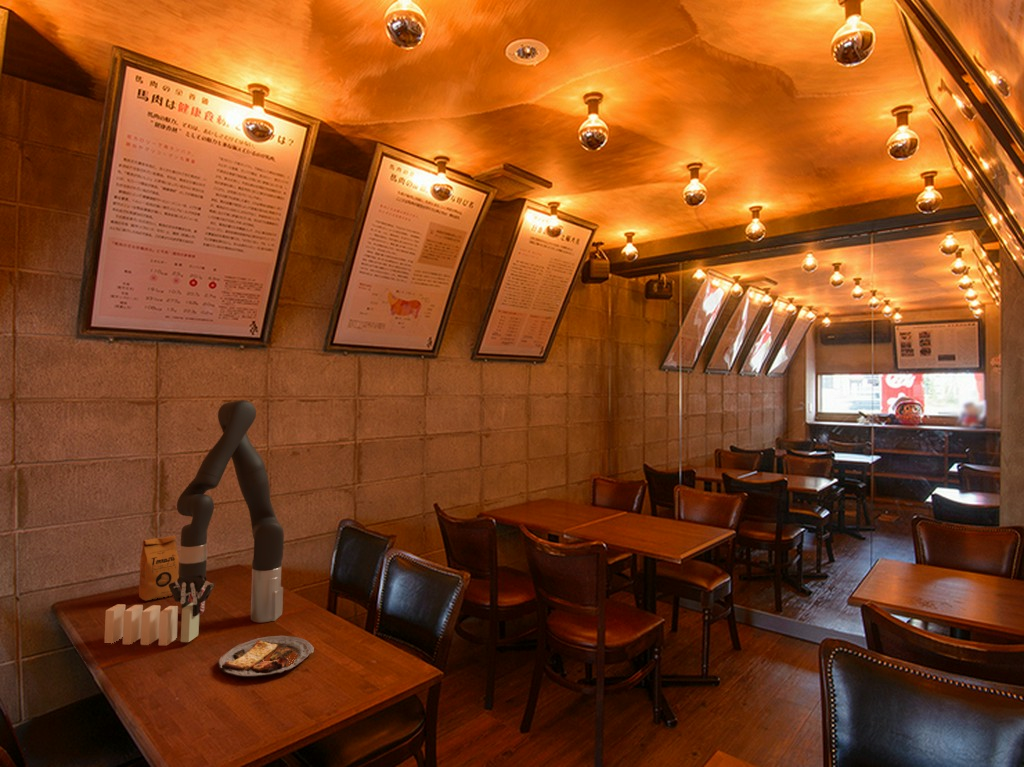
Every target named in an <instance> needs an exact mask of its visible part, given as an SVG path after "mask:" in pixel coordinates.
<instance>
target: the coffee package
mask: <svg viewBox="0 0 1024 767" xmlns="http://www.w3.org/2000/svg"><path fill="white" fill-rule="evenodd" d="M178 569H179V553H178V549H177V544H176V535H171V536H170V535H169V536H164V537H157V538H156V537H155V538H150V539H144V540H143V542H142V548H141V554H140V564H139V581H138V582H139V583H138V597H139V598H140V599H141V600H142V601H145V602H147V601H151V600H152V599H153V600H158V599H163V597H165V598H168V597H167V596H169V597H173V596H172V593H171V590H170V588H169V584H170V583H172V582H174V581H177V579H178V578H179V575H178ZM179 587H180V586H179ZM180 588H181V587H180ZM157 598H158V599H157Z"/></svg>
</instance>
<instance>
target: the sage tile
mask: <svg viewBox="0 0 1024 767" xmlns="http://www.w3.org/2000/svg"><path fill="white" fill-rule="evenodd" d="M199 627H200V616H199V614H198V615H197V616H195V617H194V616H193V603H190V604H189V605H187V606H186V607H184V608H182V614H181V625H180V642H181V643H189V642H192V640H194V639H195V638H196V637H199V629H200V628H199Z"/></svg>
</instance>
